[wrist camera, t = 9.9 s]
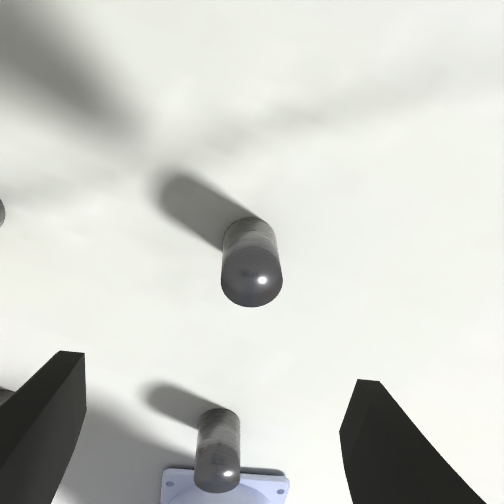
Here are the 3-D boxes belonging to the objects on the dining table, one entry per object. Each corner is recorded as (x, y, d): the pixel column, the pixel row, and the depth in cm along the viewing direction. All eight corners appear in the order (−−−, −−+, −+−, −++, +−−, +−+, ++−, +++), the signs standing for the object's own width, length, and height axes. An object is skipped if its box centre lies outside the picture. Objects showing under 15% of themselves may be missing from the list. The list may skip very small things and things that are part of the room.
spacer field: (237, 438, 26) (236, 495, 23) (-14, 418, 25) (-50, 475, 22) (280, 221, 20) (287, 258, 16) (-58, 177, 18) (-119, 209, 15)
